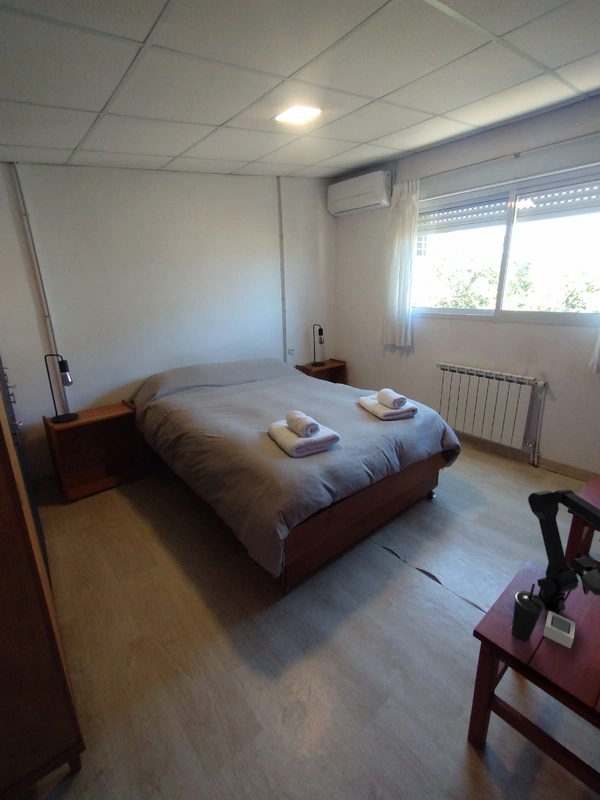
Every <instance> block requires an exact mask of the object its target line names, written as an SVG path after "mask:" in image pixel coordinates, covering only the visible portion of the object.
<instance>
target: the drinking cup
mask: <svg viewBox="0 0 600 800" xmlns="http://www.w3.org/2000/svg"><path fill="white" fill-rule="evenodd" d="M535 588H536V584H535V583H532V584H531V588H530V592H529V591H526V590H519V591H517V592H515V594H514V607H513V616H512V625H511V626H512V627H511V633H512V636H513V637H514V638H515V639H517V640H518V641H520V642H524V643H526V642H528V641H529V640H530V638H531V637H532V634H533V632H534V629H535V628H536V626H537V623H538V621H539V618H540V616H541V614H542V613H543V611H544V610H545V606H544V604H543V602H542V601H541V599H540V598H539V597H537V596H536V595H537V594H534V591H535Z"/></svg>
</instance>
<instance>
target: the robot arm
mask: <svg viewBox="0 0 600 800" xmlns="http://www.w3.org/2000/svg"><path fill="white" fill-rule="evenodd" d="M527 499H528V500H527V501H528V505H529V507H530V510H531V512H532V513H533V514H534V516H535V517H536V518H537V520H538V522H539V526H540V530H541V535H542V541H543V544H544V549H545V554H546V557H547V560H548V562H547V566H546V570H545V576H544V577H542V578H539V579H537V586H538V587H539V591H538V594H535V595H536V596H537V597H539V598H540V599H541V601H542V602H543V604H544V608H546V609H547V610H548V612H549V611H551V612H555V611H559V610H562V609H565V607H566V605H565V602H566V598H565V597H566V593H567V592H568V593H569V592H570V591H574V590H576V589H577V588H578V587H579V583H580V581H581V584H582V590H583V594H584V596H586V595H588V594H589V593H590V592H591V593H592V594H593V595H595V596H600V562H598V563H595V562H594V561H593V560H591V559H590V558H588V557H587V556H583V557H580V558H575V559H573V560H572V561H571V564H570V565H569V564H568V563H567V560H566V555H565V552H564V547H563V544H562V539H561V535H560V530H559V526H558V523H557V515H558V512H559V509H560V505H559V504H561V505H562V506H564V507H566V508H567V509H569V510H570V511H571V512H573V513H575V515H577V516H579V517H581V518H582V519H584V520H585V521H586V522H588V523H589V524H590V525H593V526H594V527H595V528H596V529H598V531H599V532H600V508H599V507H596V506H595V505H593V504H592V503H591V502H588V501H587V500H585V499H584V498H582V497H581V496H579V495H577V494H576V493H574V491H573V490H572V489H569V488H563V489H557V490H555V491H554V492H553V491H551V490H547V489H546V490H542V491H538V492H537V491H536V492H533V493H530V494H529V496H528V498H527ZM598 541H599V542H600V539H598ZM578 576H579V578H580V581H579V578H578Z"/></svg>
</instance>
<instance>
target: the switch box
mask: <svg viewBox="0 0 600 800" xmlns="http://www.w3.org/2000/svg"><path fill="white" fill-rule="evenodd" d="M554 617H556V618H558V619H560V620H563V621H565V622H567V623H569V629H568V633H566V632H564V631H562V630H560V629H557V628H555V627H553V626H551V625H552V621H553V618H554ZM575 629H576V622H575V621H573V620H571V619H568V618H566V617H565V616H562V615H560V614H557V613H555V612H554V611H552V612H551V611H549V610H548V613H547V617H546V620H545V625H544V630H543V634H542V636H544V637H545V638H548V639H550V640H551V641H553V642H556V643H557V644H560V645H562V646H564V647H566V648H568V649H572V645H573V643H574V640H575V639H574V638H575Z"/></svg>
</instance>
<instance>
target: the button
mask: <svg viewBox="0 0 600 800" xmlns="http://www.w3.org/2000/svg"><path fill="white" fill-rule="evenodd" d="M551 626H553V627H555V628H557V629H560V630H562V631H564V632H566V633H568V629H569V623H567V622H565V621H563V620H560V619H558V618H556V617H554V618H553V621H552V625H551Z"/></svg>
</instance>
